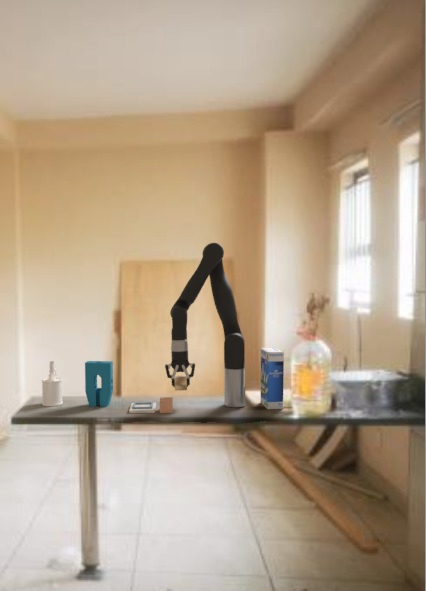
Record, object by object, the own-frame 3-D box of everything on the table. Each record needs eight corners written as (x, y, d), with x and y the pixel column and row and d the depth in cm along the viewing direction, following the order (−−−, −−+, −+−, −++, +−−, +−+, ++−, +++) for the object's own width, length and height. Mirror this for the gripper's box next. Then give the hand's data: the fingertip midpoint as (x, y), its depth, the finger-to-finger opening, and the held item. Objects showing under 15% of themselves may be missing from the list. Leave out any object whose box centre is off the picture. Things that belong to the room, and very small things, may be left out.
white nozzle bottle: (42, 402, 245) (41, 360, 244) (62, 401, 248) (62, 359, 247) (41, 408, 235) (41, 364, 234) (63, 406, 238) (62, 362, 237)
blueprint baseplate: (156, 405, 240) (156, 400, 240) (154, 412, 227) (154, 408, 227) (132, 405, 239) (132, 401, 239) (129, 413, 226) (129, 408, 226)
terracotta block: (172, 409, 232) (172, 397, 232) (172, 412, 227) (172, 400, 227) (160, 409, 232) (160, 397, 232) (159, 413, 227) (159, 400, 226)
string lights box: (260, 402, 244) (260, 347, 243) (275, 401, 246) (275, 347, 244) (267, 409, 231) (268, 352, 230) (284, 408, 233) (284, 351, 231)
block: (113, 404, 242) (113, 361, 241) (110, 406, 237) (110, 363, 236) (88, 403, 243) (88, 361, 242) (85, 406, 238) (84, 362, 237)
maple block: (186, 387, 239) (186, 375, 239) (187, 390, 234) (186, 377, 233) (174, 387, 239) (174, 376, 239) (174, 390, 233) (174, 378, 233)
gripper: (195, 347, 240) (196, 384, 240) (163, 348, 239) (165, 385, 239) (195, 350, 232) (196, 387, 233) (163, 351, 231) (164, 389, 232)
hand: (180, 386), depth 236 cm, fingers closed on maple block, 5 cm apart
